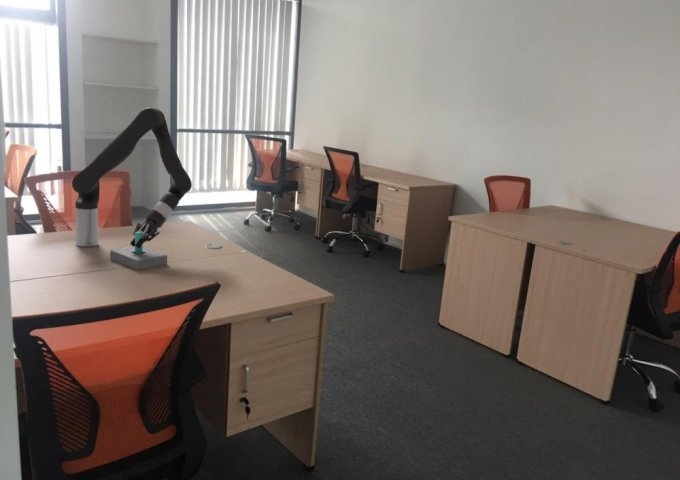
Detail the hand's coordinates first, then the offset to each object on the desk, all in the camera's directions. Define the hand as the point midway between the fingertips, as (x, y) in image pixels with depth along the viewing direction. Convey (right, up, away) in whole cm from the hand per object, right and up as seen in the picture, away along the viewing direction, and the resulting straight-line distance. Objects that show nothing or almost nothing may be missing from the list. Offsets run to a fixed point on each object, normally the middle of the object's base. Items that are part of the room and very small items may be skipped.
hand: (134, 245), depth 246 cm
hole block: (+1, -7, +3) cm, 7 cm away
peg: (+1, -4, +3) cm, 5 cm away
